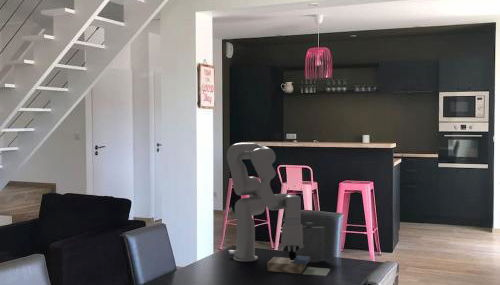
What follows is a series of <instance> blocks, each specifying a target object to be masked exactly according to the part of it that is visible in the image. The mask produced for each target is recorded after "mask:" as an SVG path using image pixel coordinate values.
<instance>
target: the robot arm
mask: <svg viewBox="0 0 500 285" xmlns="http://www.w3.org/2000/svg"><path fill="white" fill-rule="evenodd" d="M226 159H227V160H226V161H227V164H228V167H229V170H230V175H231V182H232V186H233V190H234V193H235V195H237V196H240V197H241V196H248V197H243V198H239V199H238V200H237V201H236V202H235V204H234V212H235V219H236V242H235V244H236V248H235V249H234V250H233V249H228V254H229V255H233V257H232V258H233V260H234V261H237V262H243V263H244V262H246V263H247V262H248V263H249V262H254V261H255V262H256V261H257V260H259V257H258V256H257V255H255V254H256V253H255V252H256V248H255V247H256V244H255V243H256V224H255V221H254V218H253V216H258V215H262V214H263V213H264V212H265V210H266V208H267V209H268V210H270V211H279V210H284V217H282V218H281V221H282V222H284V223H282V229H281V238H280V243H281V247H282V248H285V249H286V250H287V251H288V258H290V260H294V259H295V258H296V251H297V250H298V249H300V248H303V247H304V245H303V241H304V238H303V228H302V226H303V224H302V223H301V222H302V221H301V220H302V219H301V218H302V217H301V216H302V214H301V211H302V210H301V209H302V206H301V204H302V199H301V198H302V197H301V196H299V195H295V194H288V193H275V194H274V192H273V189H272V187H271V180H273V179H274V178H275V176H276V174H277V173H276V171H275V169H274V167H273V164H274V163H275V161H276V152H275V151H274V150H273V149H272V148H270V147H267V146H266V145H265V146H264V145H262V144H258V143H255V142H237V143H233V144H231V145H230V146H229V148H228V149H227V153H226ZM243 160H250V162H251V164H252V166H253V167H254V170H255V172H256V173H257V176H258V177H256V176H249V174H248V169H247V167H246V164H245V163H244V162H243ZM293 246H294V248H293Z"/></svg>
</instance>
